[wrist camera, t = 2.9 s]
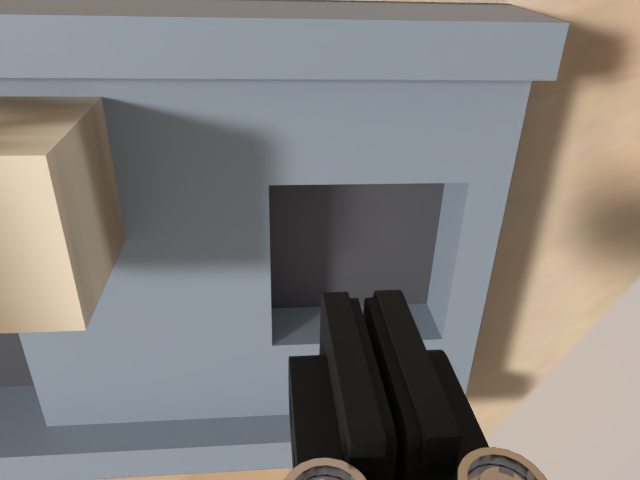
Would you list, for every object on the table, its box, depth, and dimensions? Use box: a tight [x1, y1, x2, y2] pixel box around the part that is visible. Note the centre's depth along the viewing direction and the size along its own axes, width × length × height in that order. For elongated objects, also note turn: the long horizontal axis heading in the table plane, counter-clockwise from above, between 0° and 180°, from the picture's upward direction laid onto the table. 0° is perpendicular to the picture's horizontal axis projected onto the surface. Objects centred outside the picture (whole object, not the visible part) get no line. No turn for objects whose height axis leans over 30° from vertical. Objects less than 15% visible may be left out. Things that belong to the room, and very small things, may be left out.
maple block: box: [0, 96, 126, 333], centre depth 16 cm, size 5×5×5 cm
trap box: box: [0, 0, 569, 480], centre depth 20 cm, size 32×18×6 cm, turn 88°
